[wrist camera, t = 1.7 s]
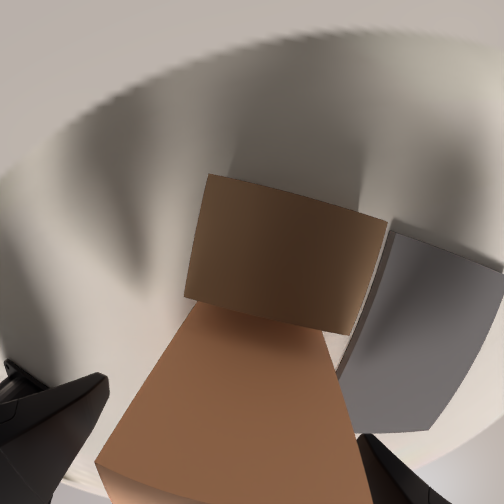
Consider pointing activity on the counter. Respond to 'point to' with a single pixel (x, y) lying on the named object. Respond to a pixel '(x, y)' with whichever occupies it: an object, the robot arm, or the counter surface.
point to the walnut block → (282, 255)
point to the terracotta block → (236, 420)
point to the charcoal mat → (416, 336)
